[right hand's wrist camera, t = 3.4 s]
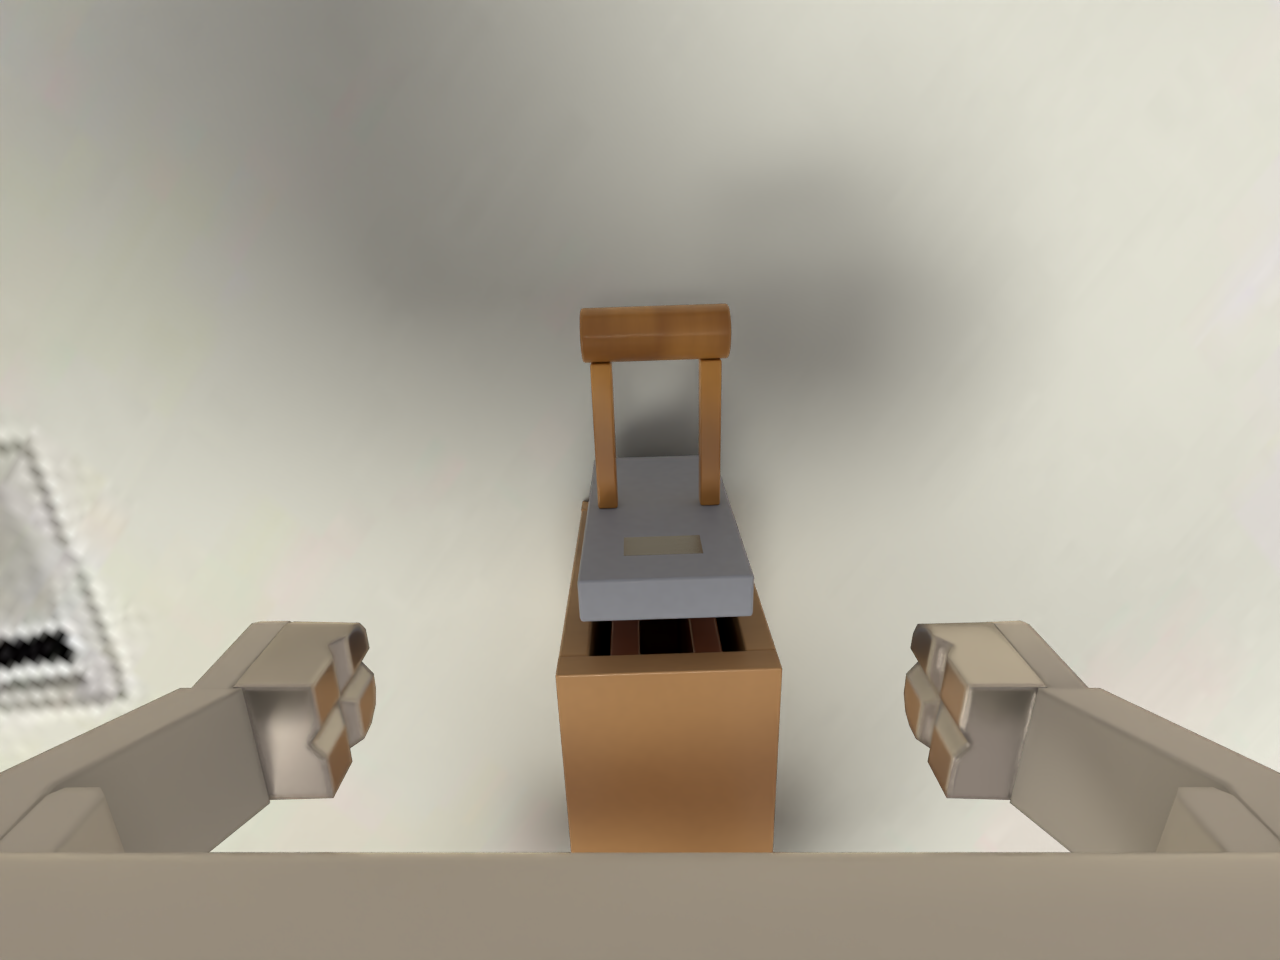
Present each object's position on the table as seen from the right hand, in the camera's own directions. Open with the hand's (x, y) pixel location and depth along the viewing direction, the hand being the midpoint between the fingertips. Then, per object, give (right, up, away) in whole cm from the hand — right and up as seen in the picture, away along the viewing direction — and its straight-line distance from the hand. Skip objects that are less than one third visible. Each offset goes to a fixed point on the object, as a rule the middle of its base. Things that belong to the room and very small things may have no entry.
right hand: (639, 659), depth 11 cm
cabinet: (+1, -8, +21) cm, 22 cm away
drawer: (+1, -3, +18) cm, 18 cm away
